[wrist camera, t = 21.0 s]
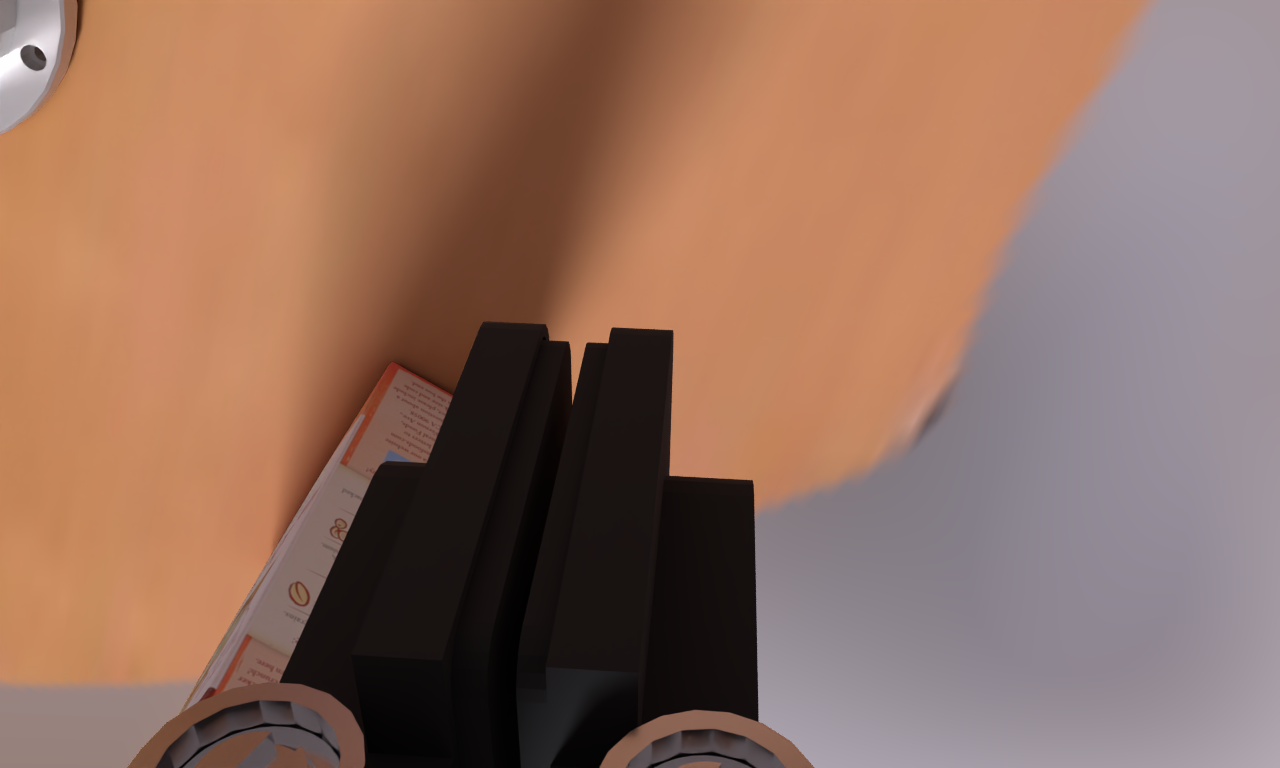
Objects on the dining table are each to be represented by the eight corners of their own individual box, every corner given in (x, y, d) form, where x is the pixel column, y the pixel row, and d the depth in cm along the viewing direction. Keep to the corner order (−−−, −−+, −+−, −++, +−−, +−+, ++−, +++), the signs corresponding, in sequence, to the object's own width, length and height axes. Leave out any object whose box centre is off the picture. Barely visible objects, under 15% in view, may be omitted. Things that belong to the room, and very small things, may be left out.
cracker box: (384, 350, 44) (139, 798, 27) (516, 423, 45) (367, 896, 28) (256, 565, 51) (-5, 1034, 33) (375, 623, 52) (183, 1103, 35)
